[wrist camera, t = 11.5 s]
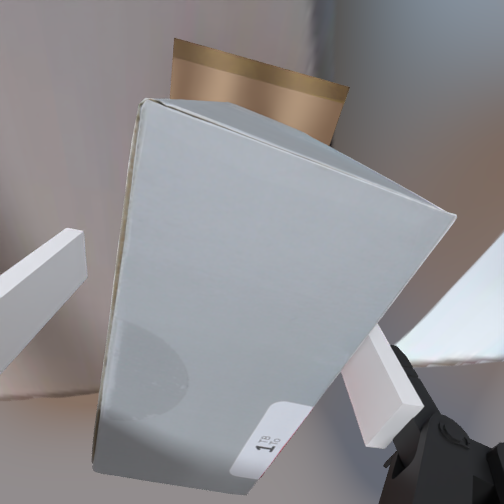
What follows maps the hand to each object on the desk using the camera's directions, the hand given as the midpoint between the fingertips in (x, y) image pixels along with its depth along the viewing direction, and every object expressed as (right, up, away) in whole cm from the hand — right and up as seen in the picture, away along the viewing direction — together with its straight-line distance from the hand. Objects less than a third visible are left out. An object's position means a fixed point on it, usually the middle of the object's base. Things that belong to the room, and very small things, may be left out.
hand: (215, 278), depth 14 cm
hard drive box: (+1, +7, +12) cm, 14 cm away
